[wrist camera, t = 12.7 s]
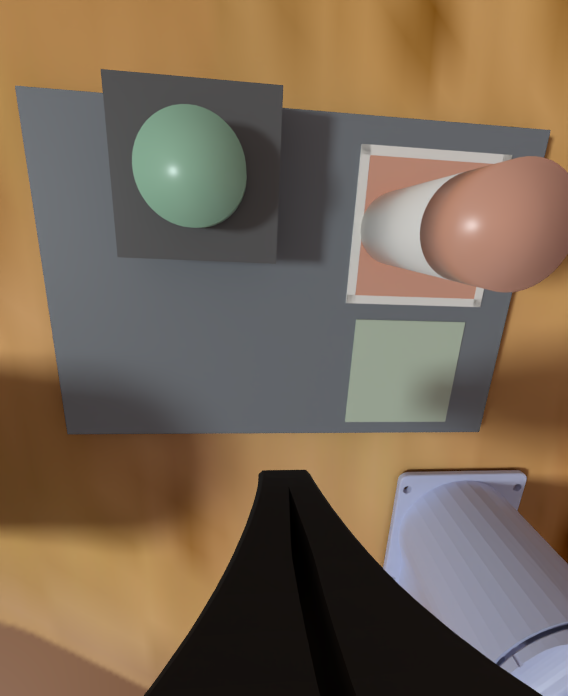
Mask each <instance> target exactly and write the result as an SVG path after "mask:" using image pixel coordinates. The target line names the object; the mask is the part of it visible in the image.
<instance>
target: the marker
mask: <svg viewBox="0 0 568 696" xmlns="http://www.w3.org/2000/svg"><path fill="white" fill-rule="evenodd" d="M360 234H361V241H362V244H363V246H364V248H365V250H366V252H367V253H368V254H369V255H370V256H371V257H372V258H373V259H374V260H376V261H378V262H380V263H383V264H386V265H390V266H394V267H398V268H402V269H406V270H411V271H415V272H419V273H423V274H427V275H431V276H435V277H439V278H443V279H447V280H451V281H455V282H459V283H463V284H467V285H471V286H475V287H479V288H483V289H487V290H491V291H495V292H503V293H504V292H516V291H520V290H524V289H527V288H529V287H532V286H534V285H536V284H537V283H539V282H541V281H542V280H544V279H545V278H546V277H548V276H549V275H550V274H551V273H552V272H553V271H554V270H555V269H556V268H557V267H558V266H559V265H560V264H561V262H562V261H563V260H564V258H565V257H566V255H567V254H568V173H567V172H566V170H565V169H564V168H562V167H561V166H560V165H559V164H557V163H555V162H554V161H552V160H549V159H546V158H543V157H538V156H525V157H518V158H515V159H511V160H507V161H503V162H500V163H496V164H492V165H488V166H485V167H481V168H477V169H473V170H470V171H466V172H462V173H458V174H455V175H451V176H447V177H443V178H440V179H436V180H432V181H428V182H425V183H421V184H417V185H414V186H410V187H406V188H402V189H399V190H395V191H391V192H388V193H385V194H383V195H381V196H379V197H378V198H376V199H375V200H374V201H373V202H372V203H371V204H370V205H369V207H368V208H367V210H366V211H365V213H364V216H363V218H362V222H361V229H360Z"/></svg>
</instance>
